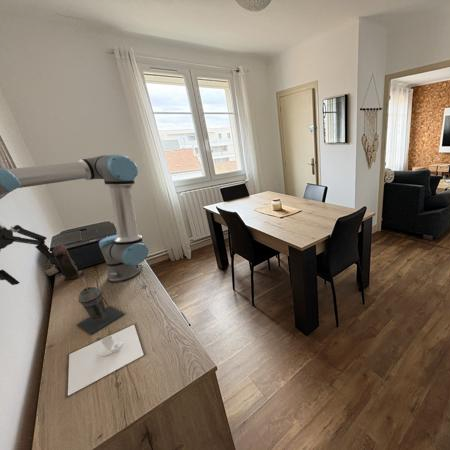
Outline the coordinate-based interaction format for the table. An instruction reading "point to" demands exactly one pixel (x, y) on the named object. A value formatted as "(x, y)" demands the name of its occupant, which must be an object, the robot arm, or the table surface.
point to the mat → (93, 327)
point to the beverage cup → (93, 303)
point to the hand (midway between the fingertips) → (35, 270)
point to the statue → (66, 263)
